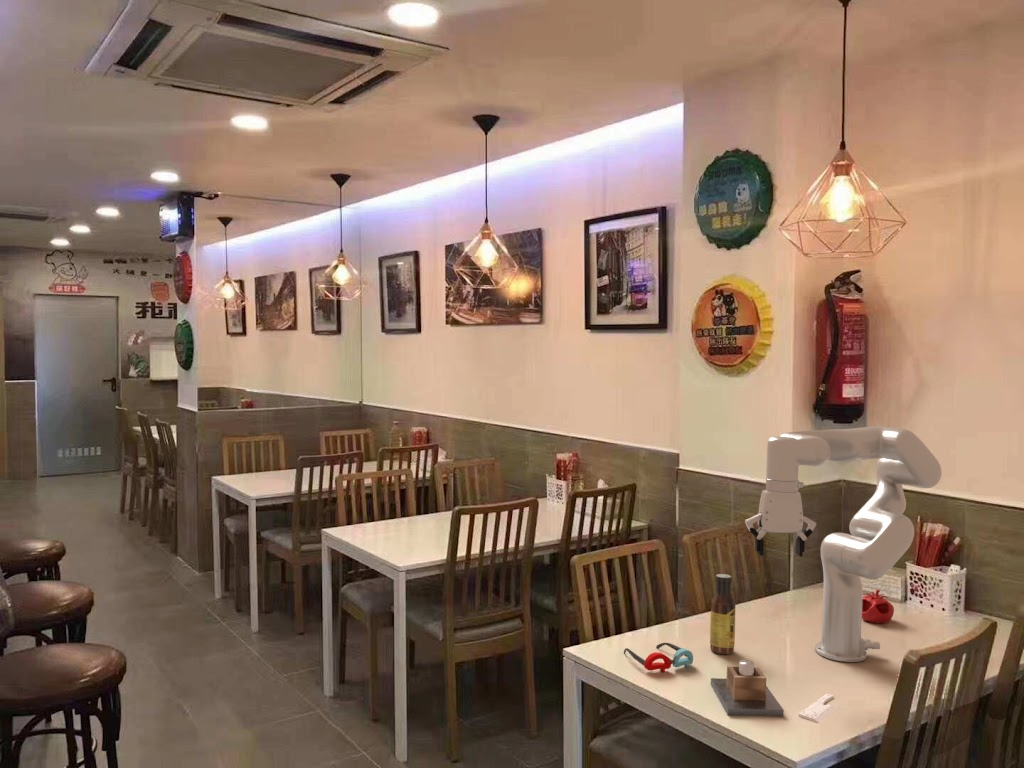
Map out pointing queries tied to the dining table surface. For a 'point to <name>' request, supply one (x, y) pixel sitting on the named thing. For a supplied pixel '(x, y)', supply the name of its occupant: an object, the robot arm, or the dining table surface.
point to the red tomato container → (876, 608)
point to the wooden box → (746, 684)
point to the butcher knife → (818, 709)
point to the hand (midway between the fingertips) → (779, 554)
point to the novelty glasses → (664, 658)
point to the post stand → (746, 706)
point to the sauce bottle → (722, 617)
